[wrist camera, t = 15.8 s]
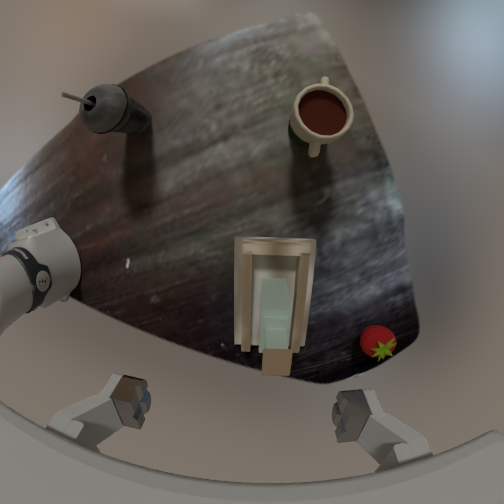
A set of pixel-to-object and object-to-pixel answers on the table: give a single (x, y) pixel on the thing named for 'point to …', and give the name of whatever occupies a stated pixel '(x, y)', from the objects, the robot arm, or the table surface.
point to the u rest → (271, 266)
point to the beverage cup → (111, 110)
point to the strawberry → (377, 341)
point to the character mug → (320, 116)
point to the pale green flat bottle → (275, 327)
